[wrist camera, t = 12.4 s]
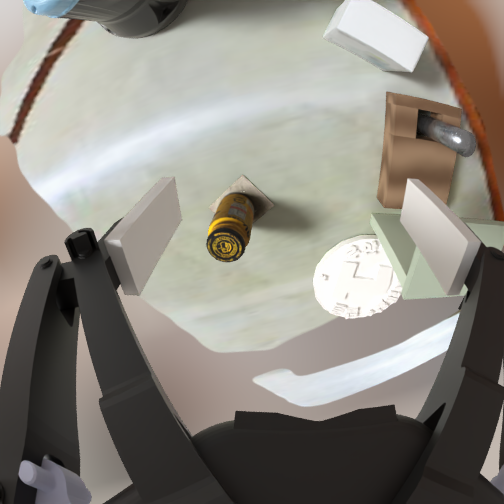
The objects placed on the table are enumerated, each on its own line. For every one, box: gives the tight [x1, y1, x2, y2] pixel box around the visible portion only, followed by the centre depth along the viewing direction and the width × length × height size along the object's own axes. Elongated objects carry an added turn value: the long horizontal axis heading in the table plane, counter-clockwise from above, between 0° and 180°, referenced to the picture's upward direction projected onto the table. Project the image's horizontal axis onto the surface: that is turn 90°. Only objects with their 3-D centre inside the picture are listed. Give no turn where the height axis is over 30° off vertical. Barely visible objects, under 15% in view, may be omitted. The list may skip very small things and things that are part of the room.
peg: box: [416, 113, 476, 157], centre depth 30 cm, size 3×3×14 cm
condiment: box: [207, 175, 274, 262], centre depth 42 cm, size 7×8×12 cm
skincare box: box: [323, 0, 428, 72], centre depth 25 cm, size 10×6×10 cm, turn 69°
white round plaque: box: [313, 235, 402, 319], centre depth 52 cm, size 20×20×3 cm
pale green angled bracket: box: [370, 213, 504, 299], centre depth 35 cm, size 11×14×19 cm
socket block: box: [377, 92, 462, 209], centre depth 37 cm, size 18×12×4 cm, turn 3°
